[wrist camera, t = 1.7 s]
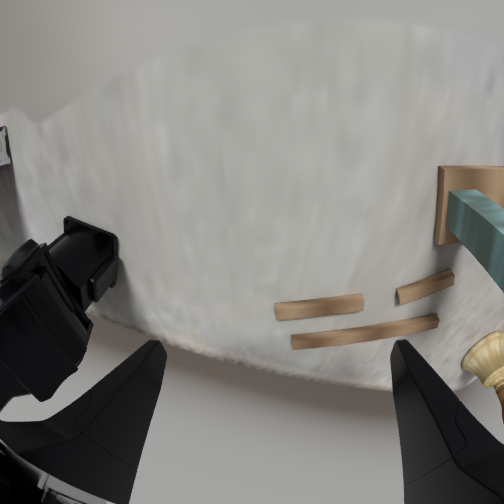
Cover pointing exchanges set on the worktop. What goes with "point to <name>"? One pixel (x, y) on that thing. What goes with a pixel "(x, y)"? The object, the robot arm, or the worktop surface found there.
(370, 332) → the broken lane
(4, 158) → the candy bar box
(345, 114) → the worktop surface
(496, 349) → the hand bell
